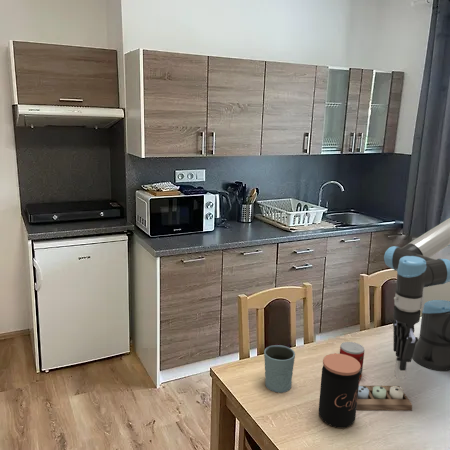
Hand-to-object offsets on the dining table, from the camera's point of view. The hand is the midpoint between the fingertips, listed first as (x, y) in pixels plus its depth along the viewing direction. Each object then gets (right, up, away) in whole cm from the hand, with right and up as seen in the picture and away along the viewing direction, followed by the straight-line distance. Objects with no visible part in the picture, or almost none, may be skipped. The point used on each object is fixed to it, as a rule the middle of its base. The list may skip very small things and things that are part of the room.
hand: (399, 377), depth 138 cm
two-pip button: (-6, -7, +1) cm, 10 cm away
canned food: (-11, -5, +15) cm, 19 cm away
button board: (-6, -8, +2) cm, 10 cm away
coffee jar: (-22, -10, -7) cm, 25 cm away
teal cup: (-37, -6, +9) cm, 39 cm away
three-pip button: (-12, -7, +1) cm, 14 cm away
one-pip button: (-1, -7, +1) cm, 8 cm away
